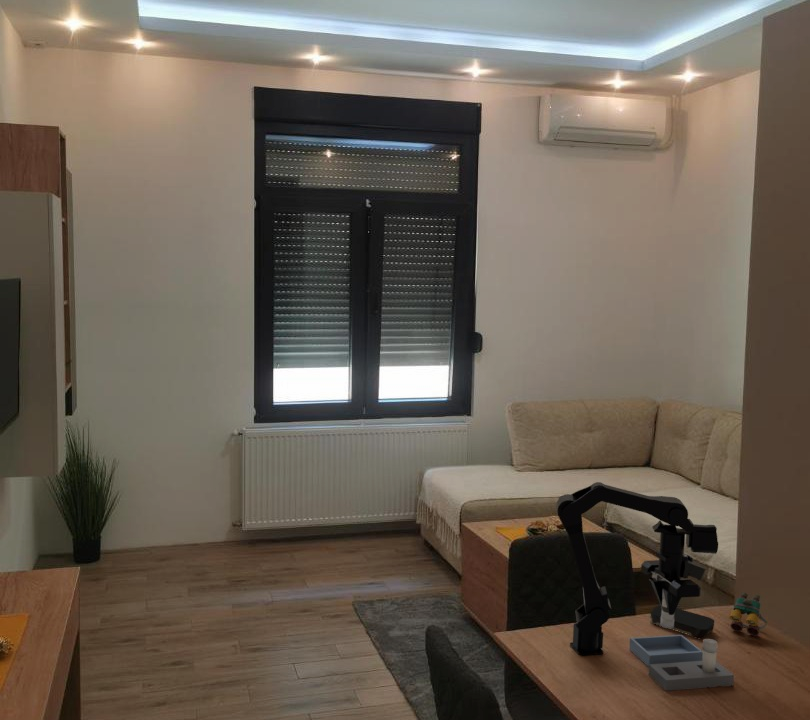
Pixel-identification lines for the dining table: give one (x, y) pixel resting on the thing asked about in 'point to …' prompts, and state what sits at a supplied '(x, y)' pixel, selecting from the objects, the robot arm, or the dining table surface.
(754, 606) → the binoculars
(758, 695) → the dining table surface
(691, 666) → the fuse holder
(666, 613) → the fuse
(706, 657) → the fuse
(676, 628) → the black sponge
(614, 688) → the dining table surface
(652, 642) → the parts tray
